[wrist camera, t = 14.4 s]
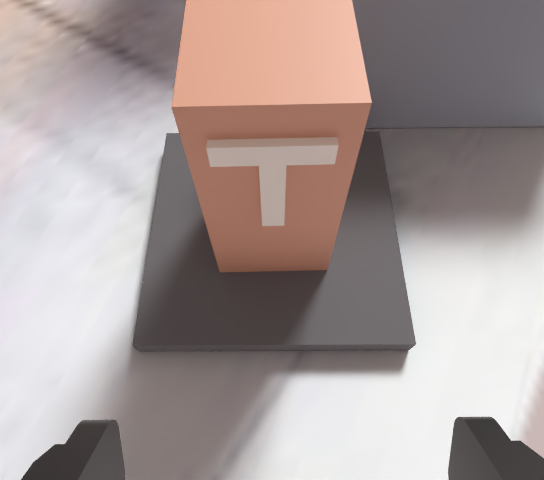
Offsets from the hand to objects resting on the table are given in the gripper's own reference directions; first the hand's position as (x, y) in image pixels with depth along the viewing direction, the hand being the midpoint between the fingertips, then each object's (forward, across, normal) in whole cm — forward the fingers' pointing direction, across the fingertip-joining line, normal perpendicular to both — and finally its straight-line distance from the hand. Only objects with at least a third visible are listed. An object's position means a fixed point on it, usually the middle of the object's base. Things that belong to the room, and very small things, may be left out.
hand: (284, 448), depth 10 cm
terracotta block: (+12, 0, -3) cm, 12 cm away
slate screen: (+18, -8, -8) cm, 21 cm away
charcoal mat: (+12, 0, -2) cm, 13 cm away
